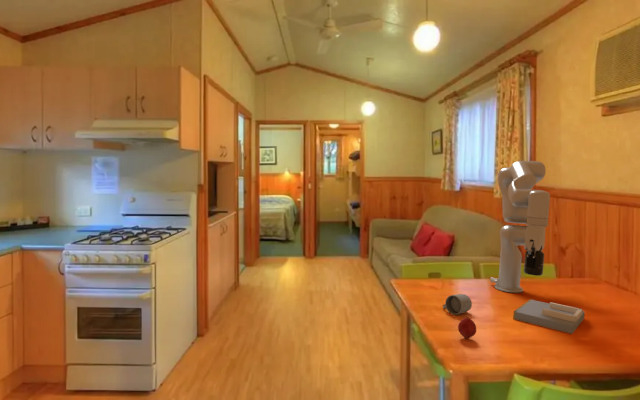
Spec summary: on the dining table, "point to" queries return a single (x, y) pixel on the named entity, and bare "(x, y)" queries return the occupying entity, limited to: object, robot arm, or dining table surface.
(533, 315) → the dock
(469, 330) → the onion
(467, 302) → the ceramic mug
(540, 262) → the supplement bottle
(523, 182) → the robot arm
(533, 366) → the dining table surface
